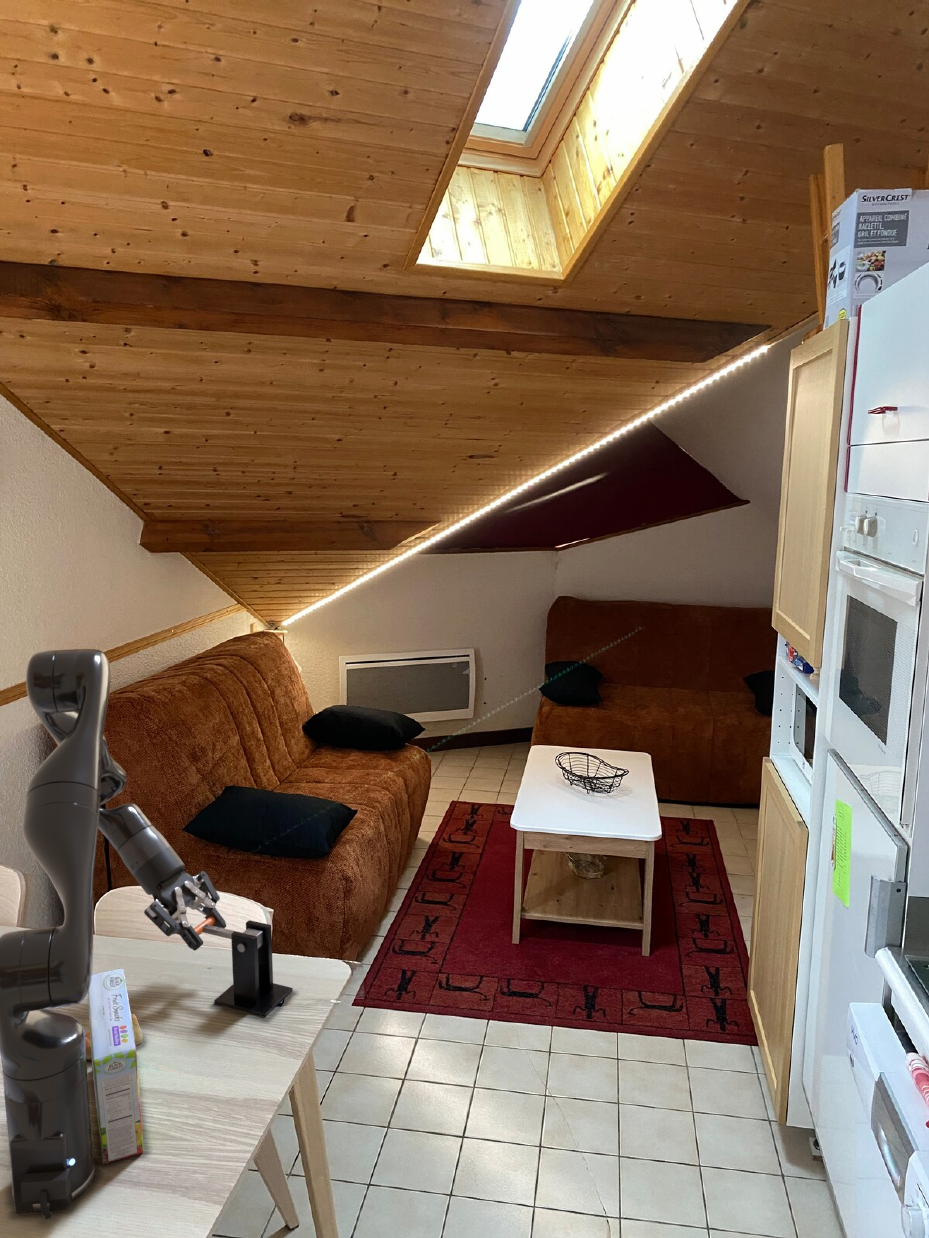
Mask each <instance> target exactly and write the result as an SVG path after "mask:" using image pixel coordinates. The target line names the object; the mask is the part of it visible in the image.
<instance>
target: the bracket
mask: <svg viewBox="0 0 929 1238" xmlns="http://www.w3.org/2000/svg"><path fill="white" fill-rule="evenodd" d="M248 928H250V929H254V930H258V931H262V936H263V945H262V946H260V947H259V948H258V943H257V936H254V935H249V934H245V933H243V932H242V933H241V931H237V930H233V931H234V932H233V933H232V934H231V939H230V940H231V961H232V962H231V964H232V984H231V985H230V986H229V987H228V988H227V989H226V990H225V991H223V992H221V994H219V996H217V998H215V999H214V1001H213V1003H214V1005H218V1006H222V1007H224V1008H229V1009H233V1010H237V1011H241V1012H244V1013H248V1014H252V1015H256V1016H259V1017H263V1018H266V1017H268V1016H269V1015H270V1014H271V1013H272V1012H273V1010H276V1008H277V1007H278V1006H279V1005H280V1004H281V1003H282V1002H284V1001H285V999H286V998H287V997H288V996H289V995H290V994H291V993H292V992H294V990H293V987H290V986H287V985H283V984H279V983H275V982H274V970H273V965H274V964H273V943H272V942H273V941H272V938H273V937H272V935H273V934H272V925H271V924H268V923H264V922H260V921H255V920H250V919H248V920H247V921H246V922H245V930H247V929H248ZM236 931H237V932H236Z"/></svg>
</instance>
